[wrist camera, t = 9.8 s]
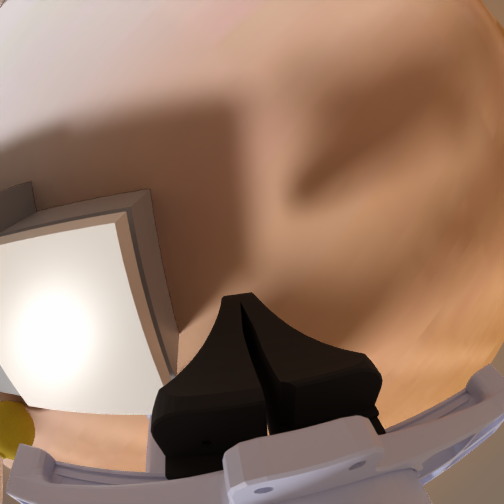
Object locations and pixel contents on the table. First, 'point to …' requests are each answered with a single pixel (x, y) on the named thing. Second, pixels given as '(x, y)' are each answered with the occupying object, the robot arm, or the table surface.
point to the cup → (1, 480)
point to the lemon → (14, 428)
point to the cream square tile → (78, 319)
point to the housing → (143, 239)
